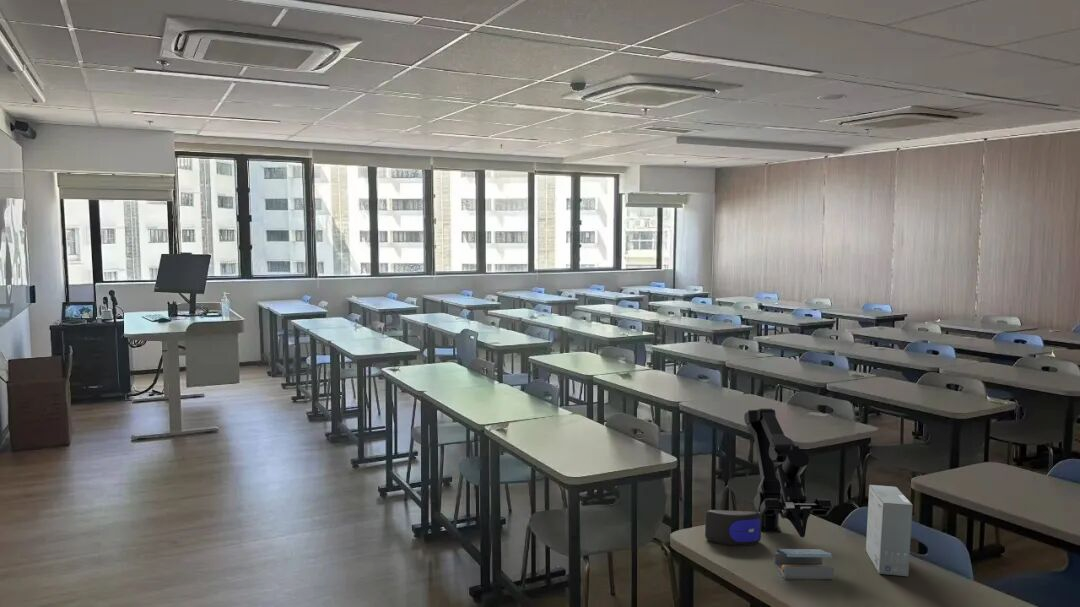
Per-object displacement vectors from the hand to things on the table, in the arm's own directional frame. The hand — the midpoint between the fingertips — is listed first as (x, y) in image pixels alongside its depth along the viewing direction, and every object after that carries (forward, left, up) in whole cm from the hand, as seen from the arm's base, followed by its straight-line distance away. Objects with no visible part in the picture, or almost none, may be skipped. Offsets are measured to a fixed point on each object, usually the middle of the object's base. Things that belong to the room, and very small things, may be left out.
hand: (802, 536), depth 193 cm
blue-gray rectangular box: (+1, 0, -4) cm, 5 cm away
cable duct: (+1, 0, -9) cm, 9 cm away
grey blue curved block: (-16, -17, -10) cm, 25 cm away
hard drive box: (-9, +24, -10) cm, 27 cm away
